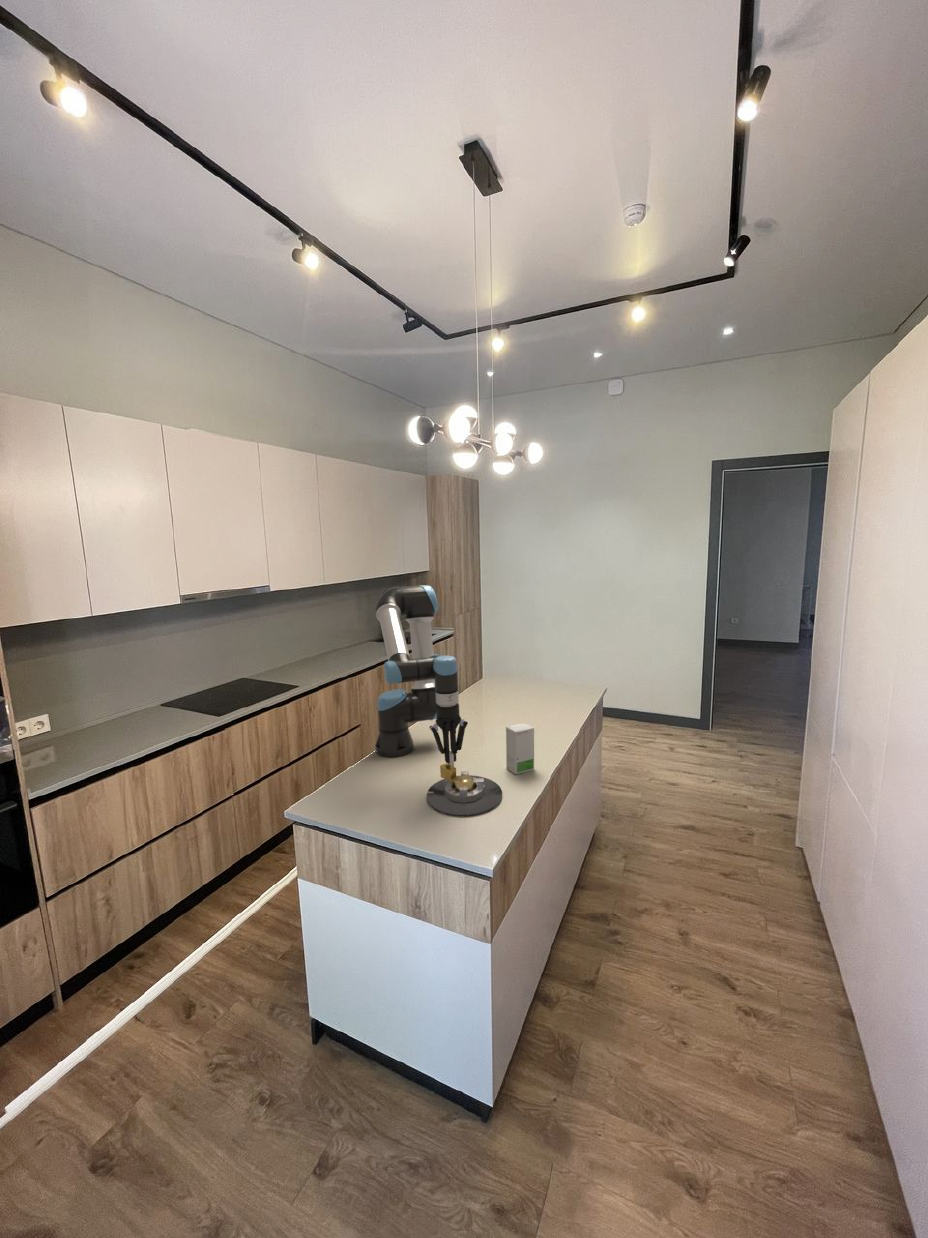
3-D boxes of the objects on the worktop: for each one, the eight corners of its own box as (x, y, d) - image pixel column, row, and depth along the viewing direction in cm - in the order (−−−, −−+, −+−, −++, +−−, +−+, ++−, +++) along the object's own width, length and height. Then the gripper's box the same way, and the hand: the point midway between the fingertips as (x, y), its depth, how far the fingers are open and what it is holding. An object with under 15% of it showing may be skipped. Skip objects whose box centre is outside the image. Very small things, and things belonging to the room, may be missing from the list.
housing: (416, 812, 145) (415, 795, 144) (439, 775, 168) (438, 760, 167) (494, 820, 139) (494, 802, 138) (507, 781, 162) (507, 765, 161)
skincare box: (515, 775, 166) (514, 732, 164) (505, 768, 172) (504, 726, 169) (535, 769, 170) (535, 727, 167) (524, 762, 176) (524, 721, 173)
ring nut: (492, 791, 153) (492, 774, 152) (463, 807, 144) (462, 788, 143) (457, 774, 165) (457, 758, 164) (428, 788, 156) (428, 770, 156)
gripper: (432, 710, 151) (436, 780, 155) (469, 703, 156) (473, 771, 159) (425, 703, 158) (429, 770, 162) (461, 697, 163) (464, 762, 166)
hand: (451, 770), depth 161 cm, fingers closed
